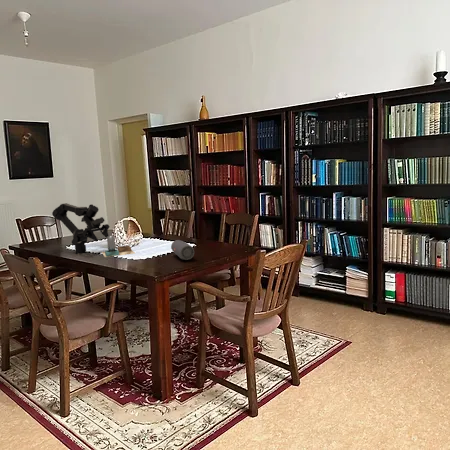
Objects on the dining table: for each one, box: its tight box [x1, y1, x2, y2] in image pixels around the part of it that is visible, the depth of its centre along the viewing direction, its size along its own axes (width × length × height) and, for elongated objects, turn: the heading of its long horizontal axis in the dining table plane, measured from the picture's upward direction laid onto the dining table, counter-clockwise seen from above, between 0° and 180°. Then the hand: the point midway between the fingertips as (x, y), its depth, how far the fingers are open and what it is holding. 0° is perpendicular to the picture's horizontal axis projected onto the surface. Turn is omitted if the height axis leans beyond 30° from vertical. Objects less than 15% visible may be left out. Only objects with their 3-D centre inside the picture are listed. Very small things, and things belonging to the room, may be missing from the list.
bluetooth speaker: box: [170, 239, 195, 261], centre depth 258 cm, size 23×9×10 cm, turn 21°
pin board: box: [101, 245, 136, 258], centre depth 279 cm, size 19×18×4 cm
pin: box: [106, 235, 116, 252], centre depth 272 cm, size 4×4×12 cm
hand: (103, 239), depth 278 cm, fingers open, 9 cm apart
